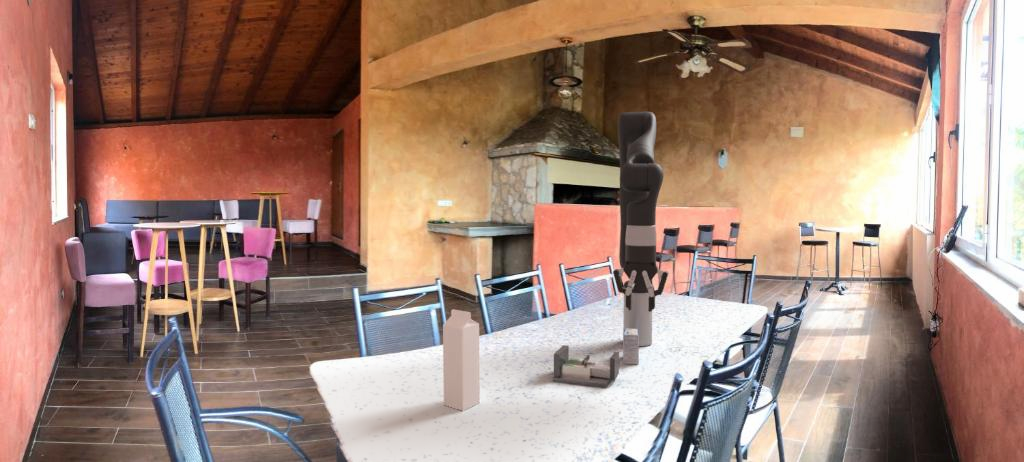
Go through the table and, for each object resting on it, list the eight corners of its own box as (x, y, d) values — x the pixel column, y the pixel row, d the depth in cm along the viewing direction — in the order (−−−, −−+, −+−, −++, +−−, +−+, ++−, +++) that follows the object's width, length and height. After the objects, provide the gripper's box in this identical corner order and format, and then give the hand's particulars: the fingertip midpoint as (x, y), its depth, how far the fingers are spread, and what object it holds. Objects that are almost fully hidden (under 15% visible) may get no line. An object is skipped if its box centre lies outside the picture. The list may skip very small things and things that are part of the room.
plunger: (584, 369, 145) (584, 348, 145) (618, 373, 142) (619, 352, 142) (579, 376, 140) (579, 354, 140) (614, 380, 137) (614, 358, 136)
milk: (460, 397, 129) (460, 307, 128) (480, 403, 125) (479, 309, 124) (443, 405, 124) (442, 311, 123) (462, 411, 120) (462, 314, 119)
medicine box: (638, 365, 154) (639, 335, 153) (622, 364, 154) (623, 334, 154) (637, 357, 161) (638, 328, 161) (622, 356, 162) (623, 327, 162)
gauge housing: (564, 368, 150) (564, 344, 150) (614, 374, 145) (614, 349, 145) (552, 381, 140) (552, 354, 140) (605, 388, 135) (606, 360, 134)
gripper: (671, 242, 136) (670, 309, 137) (615, 241, 141) (614, 305, 142) (668, 245, 129) (667, 315, 130) (609, 243, 134) (609, 311, 135)
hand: (640, 310), depth 136 cm, fingers open, 4 cm apart
